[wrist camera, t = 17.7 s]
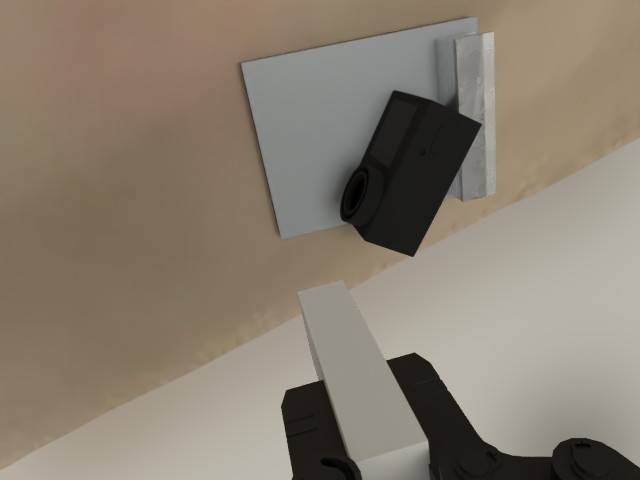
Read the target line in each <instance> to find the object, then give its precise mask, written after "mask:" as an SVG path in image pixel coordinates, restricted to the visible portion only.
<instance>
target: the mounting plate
mask: <svg viewBox="0 0 640 480" xmlns="http://www.w3.org/2000/svg"><path fill="white" fill-rule="evenodd" d="M469 32H475V34H478V30H477V16H475V17H466V18H461V19H456V20H451V21H446V22H441V23H436V24H431V25H426V26H421V27H415V28H410V29H405V30H400V31H395V32H390V33H385V34H380V35H375V36H370V37H365V38H360V39H355V40H350V41H345V42H340V43H335V44H330V45H325V46H320V47H315V48H310V49H305V50H300V51H295V52H290V53H285V54H280V55H275V56H270V57H265V58H260V59H255V60H250V61H245V62H240V65H241V69H242V73H243V78H244V82H245V86H246V91H247V95H248V99H249V103H250V108H251V112H252V116H253V121H254V125H255V129H256V134H257V138H258V142H259V147H260V151H261V155H262V159H263V164H264V168H265V172H266V177H267V181H268V185H269V190H270V194H271V198H272V203H273V207H274V211H275V215H276V220H277V224H278V228H279V233H280V236H281V239H282V240H284V239H288V238H292V237H296V236H300V235H304V234H308V233H312V232H316V231H320V230H324V229H329V228H333V227H337V226H341V225H345V224H349V223H347V222H344V221H342V219H341V217H340V204H341V199H342V195H343V192H344V189H345V187H346V184H347V182H348V180H349V178H350V177H351V175H352V173H353V172H354V171H355V170H356V168H357V167H359V165H360V163H361V161H362V159H363V157H364V154H365V152H366V150H367V148H368V145H369V143H370V141H371V139H372V137H373V134H374V132H375V130H376V128H377V126H378V123H379V121H380V119H381V117H382V114H383V112H384V110H385V108H386V106H387V103H388V101H389V99H390V97H391V95H392V92H393V91H394V90H397V91H401V92H405V93H409V94H413V95H416V96H420V97H423V98H427V99H430V100H433V101H435V102H437V103H438V90H437V74H436V58H435V42H434V39H439V38H444V37H449V36H454V35H459V34H464V33H469ZM451 198H455V196H453V195H452V194H450V193H449V192H447V194H446V196H445V198H444V200H447V199H451Z"/></svg>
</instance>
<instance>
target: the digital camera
mask: <svg viewBox="0 0 640 480" xmlns="http://www.w3.org/2000/svg"><path fill="white" fill-rule="evenodd" d="M481 126H482V124H481V123H479V122H477V121H475V120H473V119H471V118H469V117H467V116H465V115H463V114H460V113H458V112H457V111H455V110H452V109H450V108H448V107H446V106H444V105H442V104H440V103H437V102H435V101H433V100H430V99H427V98H423V97H420V96H416V95H413V94H409V93H405V92H401V91H397V90H394V91H393V92H392V95H391V97H390V99H389V101H388V103H387V106H386V108H385V110H384V112H383V114H382V117H381V119H380V121H379V123H378V126H377V128H376V130H375V132H374V134H373V137H372V139H371V141H370V143H369V145H368V148H367V150H366V152H365V154H364V157H363V159H362V161H361V163H360V165H359V167H357V168H356V170H355V171H354V172H353V173H352V175H351V177H350V178H349V180H348V182H347V184H346V187H345V189H344V192H343V195H342V199H341V204H340V217H341V219H342V221H344V222H347V223H350V224H353V226H354V227H355V228H356V230H357V231H358V232H359V234H360V235H361V236H362V238H363V239H364V240H365V241H367V242H370V243H373V244H376V245H379V246H382V247H385V248H388V249H391V250H394V251H397V252H400V253H403V254H406V255H409V256H411V257H414V255H415V253H416V251H417V249H418V248H419V246H420V244H421V242H422V240H423V238H424V236H425V234H426V232H427V231H428V229H429V227H430V225H431V223H432V221H433V219H434V217H435V215H436V213H437V211H438V209H439V207H440V206H441V204H442V202H443V200H444V198H445V196H446V194H447V192H448V190H449V188H450V186H451V184H452V182H453V181H454V179H455V177H456V175H457V173H458V171H459V169H460V167H461V165H462V163H463V161H464V159H465V157H466V155H467V153H468V151H469V149H470V147H471V146H472V144H473V142H474V140H475V138H476V136H477V134H478V132H479V130H480V128H481Z"/></svg>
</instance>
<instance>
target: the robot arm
mask: <svg viewBox="0 0 640 480" xmlns="http://www.w3.org/2000/svg"><path fill="white" fill-rule="evenodd" d="M297 293H298V298H299V302H300V306H301V311H302V315H303V319H304V324H305V328H306V332H307V337H308V341H309V346H310V350H311V355H312V359H313V363H314V366H315V369H316V372H317V376H318V379H319V381H317V382H313V383H310V384H306V385H303V386H300V387H296V388H292V389H289V390H287V391H286V393H285V396H284V399H283V402H282V405H281V409H282V415H283V421H284V426H285V432H286V437H287V443H288V449H289V455H290V460H291V466H292V472H293V478H292V480H640V468H639V467H638V466H636V465H635V464H634V463H632V462H631V461H629V460H628V459H627V458H625V457H624V456H623V455H621V454H620V453H619V452H617V451H616V450H614V449H612V448H611V447H609V446H607V445H605V444H603V443H602V442H598V441H594V440H591V439H587V438H571V439H568V440H566V441H563V442H560V443H559V445H558V446H557V447H556V448H555V449H554V450H553V456H552V457H521V456H512V455H509V454H505V453H502V452H500V451H498V450H497V448H495V447H494V446H492V445H490V444H488V443H486V442H484V441H483V440H482V439H481V438H480V436H479V435H478V434H477V432H476V431H475V430H474V428H473V426H472V425H471V424H470V422H469V420H468V419H467V417H466V416H465V415H464V413H463V412H462V410H461V409H460V407H459V405H458V404H457V402H456V401H455V400H454V398H453V396H452V395H451V393H450V392H449V391H448V390H447V387H446V386H445V384H444V383H443V382H442V380H440V378H439V375H438V374H437V372H436V371H435V369H434V368H433V366H432V365H431V363H430V362H428V361H427V360H425V359H424V358H422V357H421V356H419V355H418V354H416V353H411V354H408V355H404V356H401V357H397V358H394V359H390V360H385V358H384V357H383V355H382V353H381V351H380V349H379V347H378V345H377V343H376V342H375V339H374V338H373V336H372V334H371V332H370V330H369V328H368V326H367V324H366V322H365V321H364V319H363V317H362V315H361V313H360V311H359V310H358V307H357V306H356V304H355V302H354V300H353V298H352V296H351V294H350V292H349V290H348V288H347V287H346V285H345V283H344V281H343V280H340V281H336V282H332V283H328V284H325V285H321V286H317V287H313V288H309V289H305V290H302V291H298V292H297Z"/></svg>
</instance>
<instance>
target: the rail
mask: <svg viewBox="0 0 640 480" xmlns="http://www.w3.org/2000/svg"><path fill="white" fill-rule="evenodd" d="M434 42H435V58H436V74H437V90H438V103H440V104H442V105H444V106H446V107H448V108H450V109H452V110H455V111H457V112H458V113H460V114H463V115H465V116H467V117H469V118H471V119H473V120H475V121H477V122H479V123H481V124H482V126H481V128H480V130H479V132H478V134H477V136H476V138H475V140H474V142H473V144H472V146H471V147H470V149H469V151H468V153H467V155H466V157H465V159H464V161H463V163H462V165H461V167H460V169H459V171H458V173H457V175H456V177H455V179H454V181H453V182H452V184H451V186H450V188H449V190H448V192H449V193H450V194H452V195H453V196H455V197H456V198H458V199H459V200H461V201H462V202H465V201H469V200H474V199H478V198H482V197H486V196H490V195H494V194H496V165H495V81H494V32H486V33H481V34H475V32H469V33H464V34H459V35H454V36H449V37H444V38H439V39H434Z"/></svg>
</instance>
